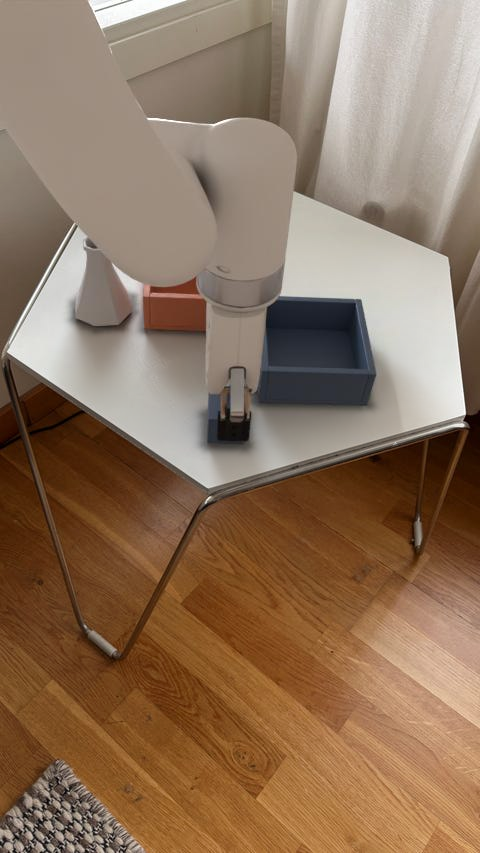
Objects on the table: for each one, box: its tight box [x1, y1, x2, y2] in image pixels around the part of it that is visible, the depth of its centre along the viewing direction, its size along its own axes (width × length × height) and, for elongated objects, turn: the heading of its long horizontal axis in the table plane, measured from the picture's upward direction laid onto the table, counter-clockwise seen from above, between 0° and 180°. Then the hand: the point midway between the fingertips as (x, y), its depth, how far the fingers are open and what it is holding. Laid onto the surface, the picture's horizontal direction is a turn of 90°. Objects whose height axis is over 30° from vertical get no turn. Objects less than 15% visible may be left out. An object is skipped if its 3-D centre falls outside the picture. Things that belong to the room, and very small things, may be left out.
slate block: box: [206, 391, 245, 445], centre depth 76 cm, size 4×4×4 cm
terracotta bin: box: [142, 276, 207, 332], centre depth 89 cm, size 12×12×5 cm
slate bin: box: [256, 295, 377, 406], centre depth 83 cm, size 13×13×5 cm
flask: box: [74, 236, 132, 327], centre depth 85 cm, size 7×7×10 cm
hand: (232, 402), depth 74 cm, fingers open, 9 cm apart
